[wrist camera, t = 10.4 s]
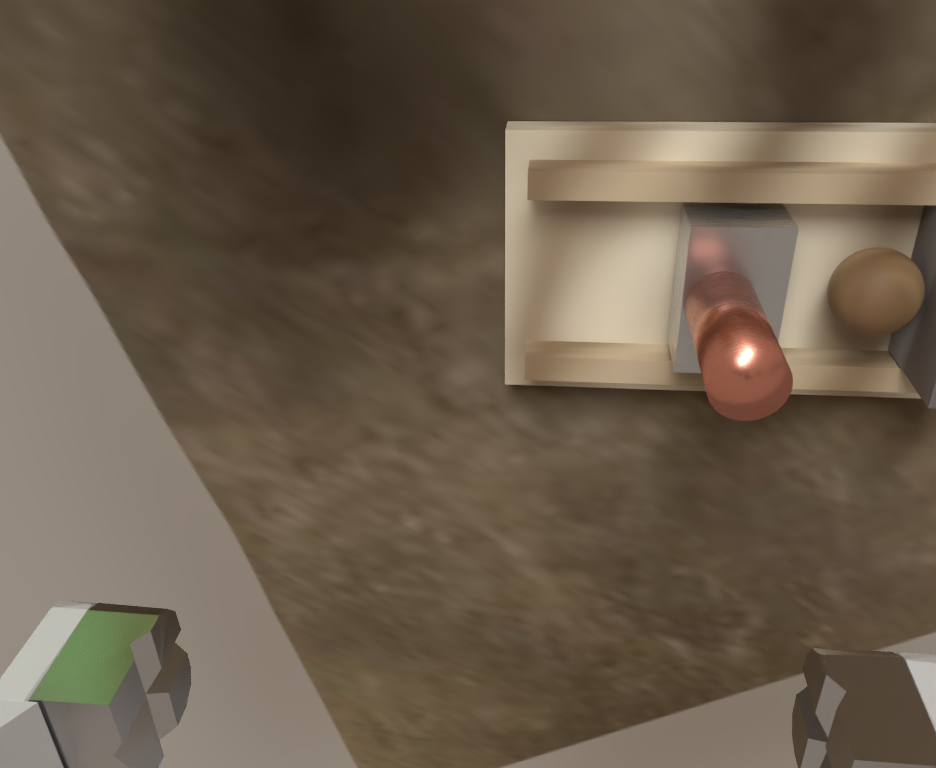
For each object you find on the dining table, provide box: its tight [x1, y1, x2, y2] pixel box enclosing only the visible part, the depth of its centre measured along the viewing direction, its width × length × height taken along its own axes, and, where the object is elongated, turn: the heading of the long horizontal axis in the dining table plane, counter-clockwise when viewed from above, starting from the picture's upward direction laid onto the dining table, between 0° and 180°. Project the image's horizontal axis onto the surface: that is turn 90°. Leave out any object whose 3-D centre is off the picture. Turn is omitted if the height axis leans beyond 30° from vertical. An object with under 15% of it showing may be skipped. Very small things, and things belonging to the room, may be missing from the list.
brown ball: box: [827, 247, 925, 336], centre depth 35 cm, size 4×4×4 cm
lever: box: [667, 202, 799, 421], centre depth 33 cm, size 4×6×10 cm, turn 1°
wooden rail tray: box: [505, 121, 936, 408], centre depth 36 cm, size 20×12×6 cm, turn 91°
